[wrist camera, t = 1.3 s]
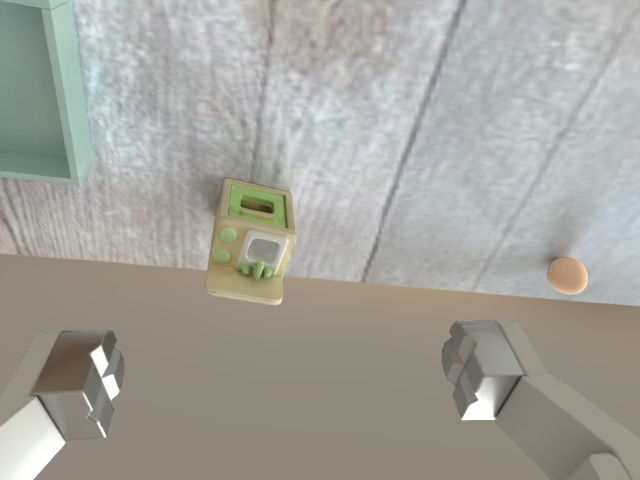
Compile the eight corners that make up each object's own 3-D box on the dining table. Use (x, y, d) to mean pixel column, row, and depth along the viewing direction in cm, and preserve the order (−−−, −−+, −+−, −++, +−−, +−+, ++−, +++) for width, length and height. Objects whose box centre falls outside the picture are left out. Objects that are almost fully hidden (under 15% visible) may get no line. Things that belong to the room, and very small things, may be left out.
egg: (580, 252, 64) (604, 279, 59) (561, 276, 67) (582, 304, 62) (551, 247, 63) (573, 275, 58) (533, 272, 66) (552, 300, 61)
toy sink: (295, 188, 53) (300, 258, 43) (279, 234, 57) (281, 307, 47) (225, 171, 51) (213, 241, 40) (214, 220, 55) (201, 294, 45)
